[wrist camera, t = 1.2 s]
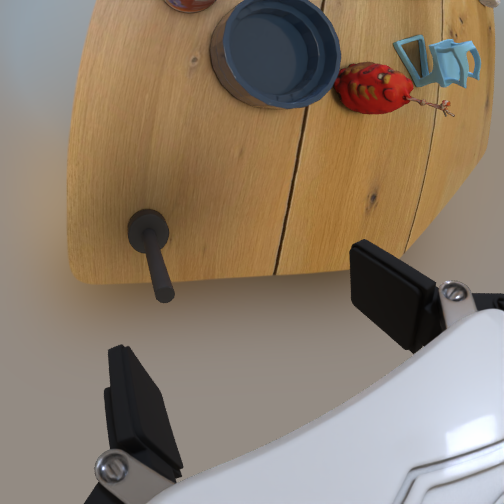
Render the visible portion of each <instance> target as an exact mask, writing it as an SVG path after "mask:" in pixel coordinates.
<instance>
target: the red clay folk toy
mask: <svg viewBox="0 0 504 504" xmlns="http://www.w3.org/2000/svg"><path fill="white" fill-rule="evenodd" d="M333 87H334V89H335V90H336V92H337V93H339V98H340V100H341V102H342V103H343V104H344V105H345V106H346V107H347V108H349V109H351V110H353V111H356V112H360V113H362V114H384V113H388V112H392V111H394V110H396V109H398V108H400V107H402V106H403V105H404V104H408V103H409V102H410V100H411V101H416V102H418V103H419V104H420V105H425V104H427V105H429V106H432V107H435V108H438V109H440V110H442V111H443V113H444V115H445V117H446V116H447V115H446V113H445V111H446V112H447V113H448V114H450V115H451V116H453V117H454V116H455V115H454V114H452V113H450V112H449V111H448V109H447V107H445V106H451V105H450V102H449V101H447V100H443V101H442V104H440V105H437V104H432V103H428V102H426V100H424V99H423V100H418V99H416V98H413V97H411V96H410V95H409V94H410V92H411V91H412V90H413V83H412V81H411V80H410V79H409V78H407V77H405V76H404V74H403V73H401V72H399V71H394V70H393V69H391V68H390V67H389V66H387V65H381V64H375V63H373V62H364V63H358V64H351V65H350V66H349V67H348V68H347V69H346V68H345V69H341V70H340V71H339V74H338V76H337V78H336V80H335V82H334V84H333ZM444 105H445V106H444ZM444 110H445V111H444Z"/></svg>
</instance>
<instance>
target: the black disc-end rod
mask: <svg viewBox="0 0 504 504" xmlns="http://www.w3.org/2000/svg"><path fill="white" fill-rule="evenodd" d="M168 237H169V229H168V226H167V224H166V221H165V219H164V217H163V216H162V215H161V214H160V213H159V212H157V211H155V210H151V209H145V210H141V211H139V212H137V213H136V214H134V215H133V216H132V218H131V219H130V221H129V223H128V239H129V242H130V244H131V246H132V247H133V248H134V249H135V250H137V251H138V252H141V253H145V254H146V257H147V262H148V266H149V271H150V275H151V280H152V284H153V288H154V292H155V296H156V299H157V300H158V301H159V302H161V303H168V302H170V301H171V300H172V299H173V298H174V295H175V293H174V289H173V286H172V284H171V281H170V278H169V275H168V272H167V269H166V266H165V263H164V260H163V257H162V254H161V250H160V249H162V248H163V247H164V246H165V244H166V243H167V240H168Z"/></svg>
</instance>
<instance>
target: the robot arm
mask: <svg viewBox="0 0 504 504" xmlns="http://www.w3.org/2000/svg"><path fill="white" fill-rule="evenodd" d="M349 254H350V276H351V277H350V278H351V301H352V303H353V305H354V306H355V307H357V308H358V309H359V310H360V311H361V312H362V313H363V314H364V315H366V316H367V317H368V318H369V319H370V320H371V321H373V322H374V323H375V324H376V325H377V326H378V327H379V328H381V329H382V330H383V331H384V332H385V333H387V334H388V335H389V336H390V337H391V338H392V339H393V340H394V341H396V342H397V343H398V344H399V345H400V346H401V347H402V348H403V349H405V350H410V351H411V352H412V353H413V354H414V353H415V354H414V355H413V356H412V357H410V358H409V359H408V360H406V361H405V362H404V363H402V364H401V365H399V366H398V367H397V368H395V369H394V370H392V371H391V372H390V373H388V374H387V375H385V376H384V377H383V378H381V379H380V380H378V381H377V382H375V383H374V384H372V385H371V386H369V387H368V388H366V389H365V390H363V391H362V392H360V393H358V394H357V395H355V396H354V397H352V398H351V399H349V400H347V401H346V402H344V403H342V404H341V405H339V406H337V407H336V408H334V409H332V410H331V411H329V412H327V413H325V414H324V415H322V416H320V417H318V418H317V419H315V420H313V421H311V422H309V423H307V424H306V425H304V426H302V427H300V428H298V429H296V430H294V431H292V432H291V433H289V434H287V435H285V436H283V437H281V438H279V439H276V440H274V441H272V442H270V443H268V444H266V445H264V446H262V447H260V448H257V449H255V450H253V451H251V452H248V453H246V454H244V455H242V456H239V457H237V458H235V459H233V460H230V461H228V462H225V463H223V464H220V465H218V466H216V467H213V468H210V469H208V470H205V471H203V472H201V473H198V474H196V475H194V476H191V477H189V478H187V479H184V480H182V481H180V482H178V483H176V478H179V477H182V475H181V472H180V469H182V468H183V463H182V460H181V457H180V454H179V451H178V448H177V445H176V442H175V439H174V436H173V432H172V429H171V426H170V423H169V419H168V415H167V412H166V408H165V405H164V401H163V397H162V394H161V392H160V390H159V388H158V387H157V386H156V384H155V383H154V382H153V381H152V379H151V378H150V376H149V374H148V373H147V372H146V371H145V369H144V367H143V366H142V365H141V363H140V362H139V360H138V359H137V357H136V356H135V354H134V353H133V351H132V350H131V348H130V347H129V346H127V347H124V346H123V345H118V346H116V347H113V348H111V349H109V350H108V360H109V375H110V387H108V388H105V390H104V400H105V412H106V421H107V430H108V438H109V445H110V450H107V451H105V452H104V453H102V454H101V455H100V456H99V457H98V459H97V461H96V463H95V467H94V469H95V476H96V478H97V480H98V481H99V482H98V484H97V485H96V486H95V488H94V489H93V491H92V492H91V494H90V495H89V497H88V498H87V500H86V501H85V503H84V504H504V294H501V293H500V294H498V293H497V294H492V293H491V294H489V293H486V294H485V293H471V291H470V289H469V288H468V287H467V286H466V285H465V284H463V283H462V282H459V281H453V280H451V281H446V282H444V283H442V284H441V285H440V287H439V288H438V287H436V282H434V281H433V280H431V279H430V278H428V277H427V276H425V275H423V274H422V273H420V272H419V271H417V270H416V269H414V268H412V267H411V266H409V265H408V264H406V263H404V262H403V261H401V260H399V259H398V258H396V257H394V256H393V255H391V254H390V253H388V252H386V251H385V250H383V249H381V248H379V247H378V246H376V245H374V244H373V243H371V242H369V241H368V240H365V239H363V240H361V241H359V242H357V243H354V244H353V245H352V247H351V249H350V252H349ZM422 346H424V347H423V348H422ZM421 348H422V349H421ZM419 349H421V350H419ZM418 350H419V351H418ZM417 351H418V352H417ZM416 352H417V353H416Z"/></svg>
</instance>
